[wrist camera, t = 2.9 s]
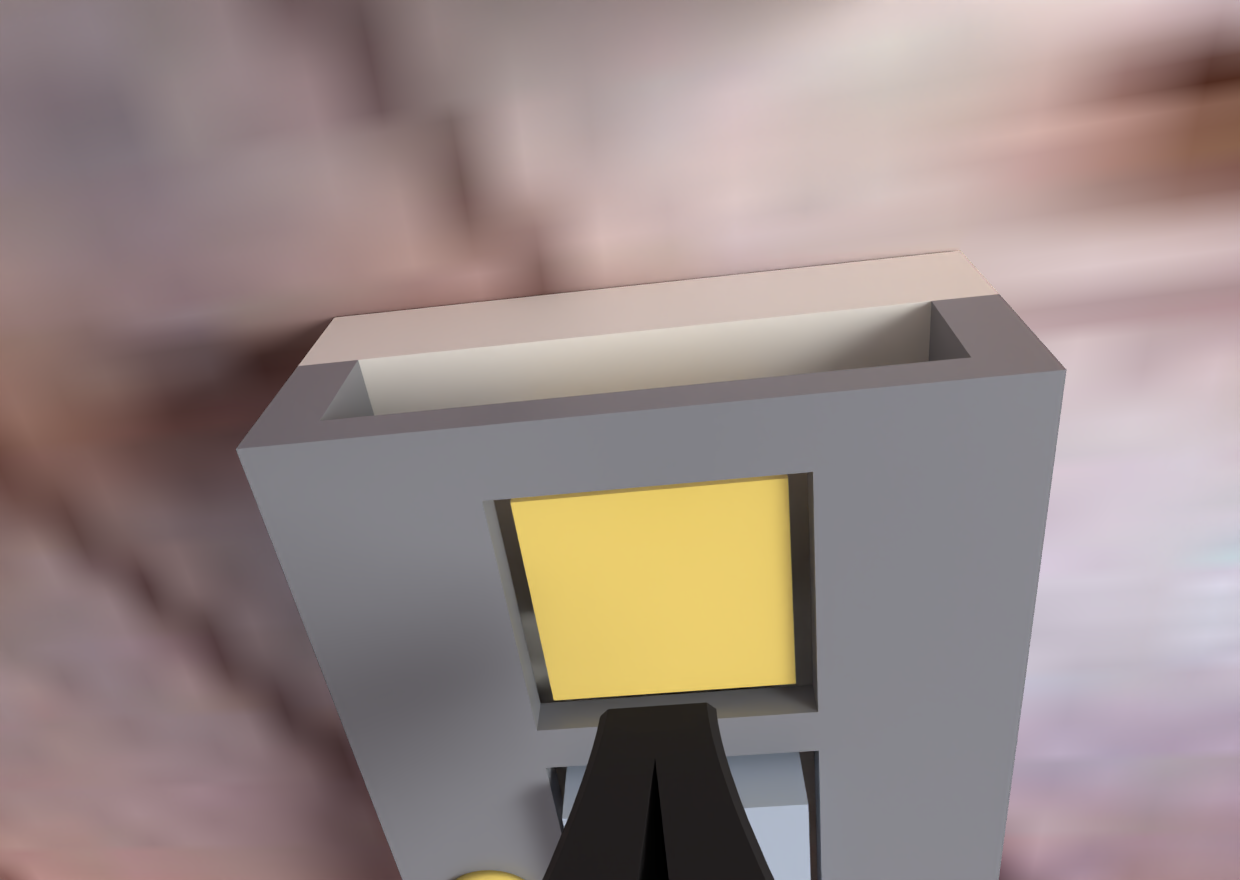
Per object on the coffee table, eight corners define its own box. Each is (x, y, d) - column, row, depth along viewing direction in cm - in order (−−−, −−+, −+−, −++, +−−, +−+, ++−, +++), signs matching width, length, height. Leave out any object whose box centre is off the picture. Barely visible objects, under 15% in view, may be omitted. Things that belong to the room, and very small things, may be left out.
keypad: (911, 1011, 27) (958, 1208, 23) (546, 1025, 28) (528, 1217, 24) (960, 250, 16) (1072, 376, 12) (334, 317, 17) (230, 456, 12)
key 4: (781, 610, 17) (796, 683, 15) (562, 626, 17) (553, 700, 15) (772, 416, 15) (788, 478, 13) (524, 440, 15) (510, 502, 13)
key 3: (798, 861, 18) (812, 950, 17) (599, 871, 19) (595, 959, 17) (793, 718, 16) (808, 804, 15) (570, 733, 17) (562, 818, 15)
